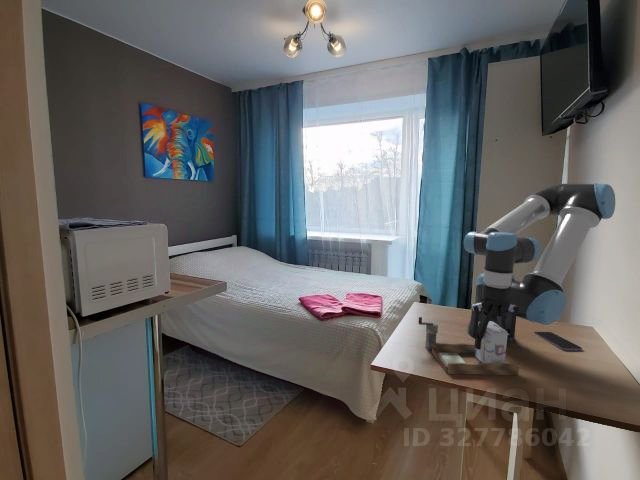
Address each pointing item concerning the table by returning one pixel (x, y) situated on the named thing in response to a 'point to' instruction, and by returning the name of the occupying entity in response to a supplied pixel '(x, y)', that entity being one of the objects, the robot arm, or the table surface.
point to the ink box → (494, 344)
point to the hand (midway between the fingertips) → (489, 358)
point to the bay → (454, 362)
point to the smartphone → (558, 341)
